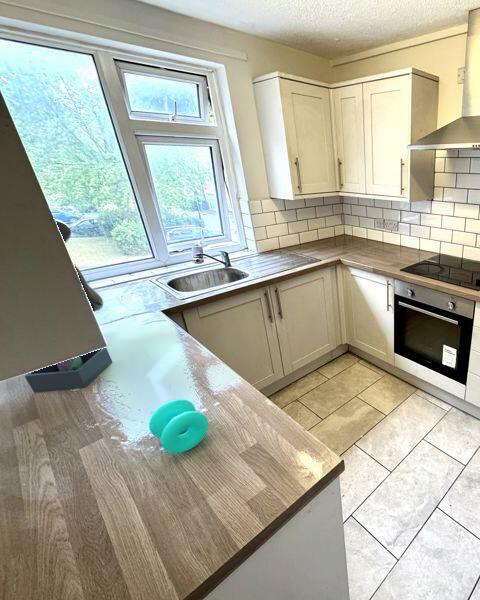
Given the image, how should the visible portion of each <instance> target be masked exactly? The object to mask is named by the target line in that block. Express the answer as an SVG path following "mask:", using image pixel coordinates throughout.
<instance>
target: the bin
mask: <svg viewBox="0 0 480 600" xmlns="http://www.w3.org/2000/svg"><path fill="white" fill-rule="evenodd" d="M102 348H103V349H100V350H97V351H94V352H91V353H88V354H86V355H83V356H80V358H81V360H82V362H83V365H82V366H81V367H80V368H79V369H77V370H73V371H62V372H60V370H59V368H58V366H57V364H56V365H52V366H49V367H46V368H43V369H40V370H38V371H34V372H31V371H30V372H31V373H30V372H28V373H27V374H26V375H24V378H25V380H26V381H27V384H28V385H29V387H30V388H31V390H32V392H33V393H41V392H51V391H62V390H71V389H72V390H74V389H82V388H87V386H89V384H91V383H92V382H93V381H94V380H95V379H96V378H97V377H98V376H99V375H100V374H101V373H103V371H105V370H106V369H107V368H108V367H109V366H110V365H111V364H112V363H113V360H112V358H111V355H110V353H109V351H108V348H107V347H106V348H104V347H102Z"/></svg>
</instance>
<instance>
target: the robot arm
mask: <svg viewBox="0 0 480 600" xmlns="http://www.w3.org/2000/svg"><path fill="white" fill-rule="evenodd" d="M54 219H55V218H54ZM55 220H56V222H57V225H58V227H59V230H60V232H61V234H62V236H63V239H64V241H65V244H67V242H68V241H69V240H70V239H71V235H72V230H71V228H70V226H69V225H68V224H66V223H65V222H63V221H61V220H60V219H59V220H58V219H55ZM74 265H75V268H76V270H77V272H78V275H79V278H80V281H81V283H82V285H83V288H84V290H85V292H86V294H87V297H88V299H89V301H90V303H91V306H92V308H93V311H94V313H95V312H98V311H101V310H102V309H103V307H104V306H105V303H104V299H103V298H102V297H101V295H100V294H99V293H98V292H97V291H95V289H93V288H92V287H91V286H90V285H89V284H88V283H87V280H86V279H85V276H84V274H83V273H82V271H81V269H79V268H78V266H77V265H76V264H75V263H74Z"/></svg>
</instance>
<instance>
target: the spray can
mask: <svg viewBox="0 0 480 600" xmlns="http://www.w3.org/2000/svg"><path fill="white" fill-rule="evenodd" d="M82 365H83V362H82V360H81V358H80V356H79V357H77V358H74V359H70V360H67V361H64V362H61V363H58V364H57V366H58V368H59V370H60V372H62V371H73V370H77V369H79V368H80V367H81V366H82Z"/></svg>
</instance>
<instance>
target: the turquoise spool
mask: <svg viewBox="0 0 480 600" xmlns="http://www.w3.org/2000/svg"><path fill="white" fill-rule="evenodd" d="M148 425H149V426H148V427H149V431H150V433H151V435H153V436H154V437H156V438H158V439H160V444H161V447H162V448H163V450H165V451H166V452H168V453H171V454H181V453H185V452H188V451H191V450H192V449H193V448H195V447H196V446H198V444H200V443H201V442H202V441H203V439H204V438H205V436H206V434H207V433H208V430H209V420H208V418H207V417H206V415H205V414H204V413H202V412H200V411H196V407H195V405H194V404H193V403H192V402H191V401H189V400H188V399H184V398H178V399H172V400H169V401H167V402H164V403H163V404H161V405H160V406H159V407H158V408H157V409H156V410H155V411H154V412H153V413H152V415H151V417H150V420H149V422H148Z"/></svg>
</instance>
